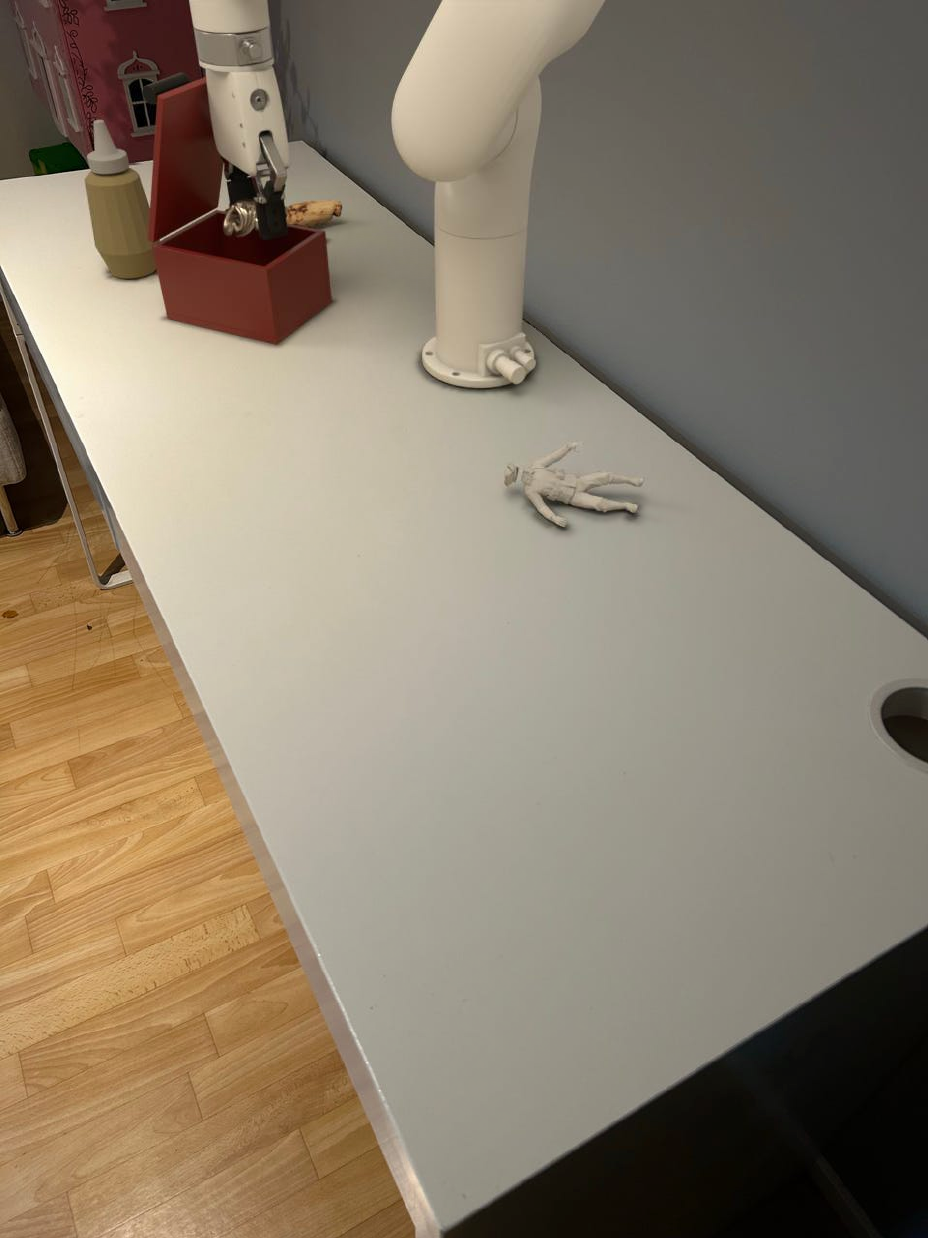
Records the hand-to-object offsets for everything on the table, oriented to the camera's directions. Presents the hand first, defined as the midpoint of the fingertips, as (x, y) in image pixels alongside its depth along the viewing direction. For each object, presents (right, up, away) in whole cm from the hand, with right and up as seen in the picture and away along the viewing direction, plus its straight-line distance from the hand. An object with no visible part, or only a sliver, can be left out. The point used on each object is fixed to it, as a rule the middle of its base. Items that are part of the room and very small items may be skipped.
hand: (259, 224), depth 106 cm
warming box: (-3, -7, +8) cm, 11 cm away
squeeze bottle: (-20, +1, +17) cm, 26 cm away
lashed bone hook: (-2, +9, +26) cm, 27 cm away
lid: (-7, +7, -2) cm, 10 cm away
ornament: (0, -1, +1) cm, 1 cm away
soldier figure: (+33, -35, -20) cm, 52 cm away
